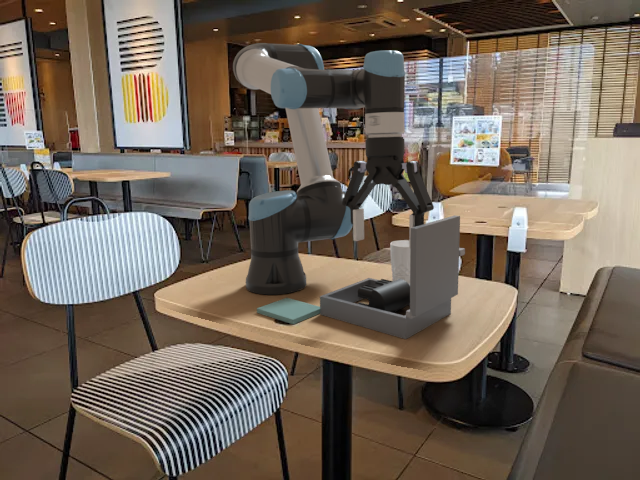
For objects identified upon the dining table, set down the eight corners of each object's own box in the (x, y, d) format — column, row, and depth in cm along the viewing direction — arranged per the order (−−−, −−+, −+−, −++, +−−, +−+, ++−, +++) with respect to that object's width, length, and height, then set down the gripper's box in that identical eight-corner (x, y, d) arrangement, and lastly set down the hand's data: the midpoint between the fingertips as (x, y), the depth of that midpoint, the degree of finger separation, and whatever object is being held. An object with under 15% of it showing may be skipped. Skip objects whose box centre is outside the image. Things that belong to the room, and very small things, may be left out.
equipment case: (320, 314, 106) (317, 217, 102) (374, 292, 120) (373, 205, 116) (413, 341, 91) (414, 229, 87) (462, 312, 105) (466, 214, 101)
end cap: (384, 325, 100) (384, 292, 98) (356, 317, 104) (356, 285, 103) (412, 311, 107) (413, 280, 105) (385, 304, 111) (385, 275, 110)
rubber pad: (257, 312, 108) (256, 308, 108) (287, 301, 115) (286, 297, 115) (293, 324, 101) (293, 319, 101) (323, 312, 108) (323, 307, 107)
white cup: (400, 276, 133) (400, 238, 131) (427, 281, 128) (428, 242, 126) (384, 283, 127) (384, 244, 125) (412, 288, 122) (412, 248, 120)
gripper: (323, 138, 104) (326, 240, 108) (432, 134, 87) (431, 254, 91) (346, 137, 109) (349, 234, 113) (453, 133, 92) (451, 247, 97)
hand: (385, 243), depth 102 cm, fingers open, 13 cm apart
